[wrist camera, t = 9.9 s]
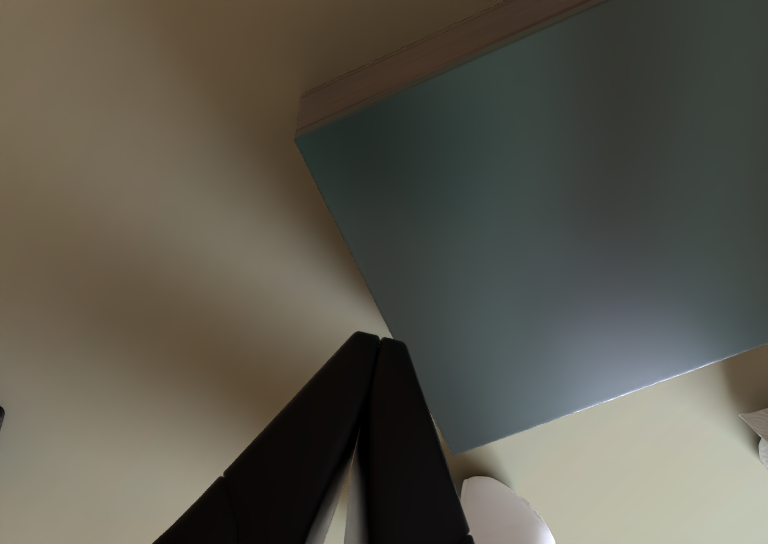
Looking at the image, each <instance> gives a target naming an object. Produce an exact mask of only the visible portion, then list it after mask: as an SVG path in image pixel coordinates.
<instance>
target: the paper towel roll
mask: <svg viewBox="0 0 768 544" xmlns="http://www.w3.org/2000/svg"><path fill="white" fill-rule="evenodd" d="M739 416H740V417H741V418H742V419H743V420H744V421H745V422H746V423H747V424H748V425H749V426H750V427H751V428H752V429H753V430H754V431H755V432H756V433H757V434H758V435H759V436H760V437H761V438H762V439H761V441H760V443H759V456H760V461H761V463H762V464H763V465H764V466H765V467H766V468H767V469H768V408H766V409H763V410H759V411H756V412H753V413H745V414H739Z"/></svg>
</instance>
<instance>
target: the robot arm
mask: <svg viewBox="0 0 768 544" xmlns="http://www.w3.org/2000/svg"><path fill="white" fill-rule="evenodd" d="M379 342H380V343H379ZM4 415H5V411H4V409H3V408H2V407H1V406H0V429H1V426H2V422H3V419H4ZM357 438H358V439H357ZM356 442H357V443H356ZM355 447H356V448H355ZM354 451H355V452H354ZM353 455H354V458H353ZM352 458H353V463H352V469H351V477H350V486H349V497H348V507H347V517H346V528H345V538H344V544H475V542H474V539H473V537H472V535H470V534H469V532H470V528H469V525H468V523H467V520H466V517H465V514H464V511H463V508H462V505H461V502H460V499H459V496H458V493H457V490H456V487H455V485H454V482H453V479H452V476H451V473H450V470H449V467H448V464H447V461H446V458H445V455H444V452H443V450H442V447H441V444H440V441H439V438H438V435H437V432H436V429H435V426H434V423H433V420H432V417H431V415H430V412H429V409H428V406H427V403H426V400H425V397H424V394H423V391H422V388H421V385H420V382H419V379H418V377H417V374H416V371H415V368H414V365H413V362H412V359H411V356H410V353H409V350H408V347H407V345H406V343H404V342H403V341H399V340H395V339H391V338H386V337H384V338H382V339H381V340H380V338H379V337H378V336H377V335H373V334H369V333H365V332H360V331H357V332H355V333H354V334H353V335H352V336H351V337H350V338H349V339H348V340H347V341H346V342H345V343H344V344H343V345H342V346H341V347H340V348H339V350H338V351H337V352H336V353H335V354H334V355H333V356H332V357H331V358H330V359H329V360H328V361H327V362H326V363H325V364H324V366H323V367H322V368H321V369H320V370H319V371H318V372H317V373H316V374H315V375H314V376H313V377H312V378H311V379H310V381H309V382H308V383H307V384H306V385H305V386H304V387H303V388H302V389H301V390H300V391H299V392H298V393H297V394H296V395H295V397H294V398H293V399H292V400H291V401H290V402H289V403H288V404H287V405H286V406H285V407H284V408H283V409H282V410H281V412H280V413H279V414H278V415H277V416H276V417H275V418H274V419H273V420H272V421H271V422H270V423H269V424H268V425H267V426H266V428H265V429H264V430H263V431H262V432H261V433H260V434H259V435H258V436H257V437H256V438H255V439H254V440H253V441H252V443H251V444H250V445H249V446H248V447H247V448H246V449H245V450H244V451H243V452H242V453H241V454H240V455H239V456H238V458H237V459H236V460H235V461H234V462H233V463H232V464H231V465H230V466H229V467H228V468H227V469H226V470H225V471H224V473H223V477H222V476H220V477H218V479H217V480H216V481H215V482H214V483H213V484H212V485H211V486H210V487H209V488H208V489H207V490H206V491H205V492H204V493H203V495H202V496H201V497H200V498H199V499H198V500H197V501H196V502H195V503H194V504H193V505H192V506H191V507H190V508H189V509H188V510H187V511H186V512H185V513H184V514H183V515H182V516H181V517H180V518H179V519H178V520H177V521H176V522H175V523H174V524H173V525H172V526H171V527H170V528H169V529H168V530H167V531H165V532H164V533H163V534H162V535H161V536H160V537H159V538H158V539H157V540H155V541H154V542H153V543H152V544H323V543H324V540H325V538H326V535H327V532H328V529H329V526H330V524H331V521H332V518H333V515H334V512H335V510H336V507H337V504H338V501H339V498H340V496H341V493H342V490H343V487H344V484H345V481H346V479H347V475H348V472H349V469H350V466H351V462H352Z"/></svg>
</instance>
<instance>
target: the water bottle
mask: <svg viewBox="0 0 768 544" xmlns="http://www.w3.org/2000/svg"><path fill="white" fill-rule="evenodd" d="M460 502H461V505H462V508H463V511H464V514H465V517H466V520H467V523H468V525H469V528H470V532H469V534H470V535H472V537H473V539H474V542H475V544H556V543H555V540H554V538H553V536H552V534H551V532H550V531H549V529H548V527H547V525H546V523H545V521H544V519H543V518H542V517H541V515H540V514H539V513H538V512H537V511H536V510H535V509H534V508H533V507H532V506H531V505H530V504H529V503H528V502H527V501H526V500H524V499H523V498H521V497H520V496H518V495H517V494H516V493H515V492H514V491H512V490H511V489H510V488H509V487H507V486H506V485H504V484H503V483H501V482H499V481H497V480H495V479H493V478H491V477H484V476H474V477H471V478H469V479H465V480H464V482H463V485H462V491H461V500H460Z"/></svg>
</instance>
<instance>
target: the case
mask: <svg viewBox="0 0 768 544" xmlns="http://www.w3.org/2000/svg"><path fill="white" fill-rule="evenodd" d="M589 1H591V0H506V1H504V2H502V3H500V4H498V5H496V6H493V7H491V8H489V9H487V10H485V11H482V12H480V13H478V14H476V15H474V16H472V17H469V18H467V19H465V20H463V21H461V22H458V23H456V24H454V25H452V26H450V27H448V28H445V29H443V30H441V31H439V32H437V33H434V34H432V35H430V36H428V37H426V38H424V39H421V40H419V41H417V42H415V43H413V44H410V45H408V46H406V47H404V48H402V49H400V50H397V51H395V52H393V53H391V54H389V55H386V56H384V57H382V58H380V59H378V60H376V61H373V62H371V63H369V64H367V65H365V66H362V67H360V68H358V69H356V70H354V71H352V72H349V73H347V74H345V75H343V76H341V77H338V78H336V79H334V80H332V81H330V82H328V83H325V84H323V85H321V86H319V87H317V88H314V89H312V90H310V91H308V92H306V93H304V94H301V95H300V103H299V110H298V118H297V126H296V132H297V131H299V130H301V129H303V128H305V127H308V126H310V125H312V124H314V123H317V122H319V121H321V120H323V119H326V118H328V117H330V116H332V115H335V114H337V113H339V112H341V111H344V110H346V109H348V108H350V107H353V106H355V105H357V104H359V103H362V102H364V101H366V100H368V99H371V98H373V97H375V96H377V95H380V94H382V93H384V92H386V91H389V90H391V89H393V88H395V87H398V86H400V85H402V84H404V83H406V82H409V81H411V80H413V79H415V78H418V77H420V76H422V75H424V74H427V73H429V72H431V71H433V70H436V69H438V68H440V67H442V66H445V65H447V64H449V63H451V62H454V61H456V60H458V59H460V58H463V57H465V56H467V55H469V54H472V53H474V52H476V51H478V50H481V49H483V48H485V47H487V46H490V45H492V44H494V43H496V42H499V41H501V40H503V39H505V38H508V37H510V36H512V35H514V34H517V33H519V32H521V31H523V30H526V29H528V28H530V27H532V26H535V25H537V24H539V23H541V22H544V21H546V20H548V19H550V18H553V17H555V16H557V15H559V14H562V13H564V12H566V11H568V10H571V9H573V8H575V7H577V6H580V5H582V4H584V3H586V2H589Z"/></svg>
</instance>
